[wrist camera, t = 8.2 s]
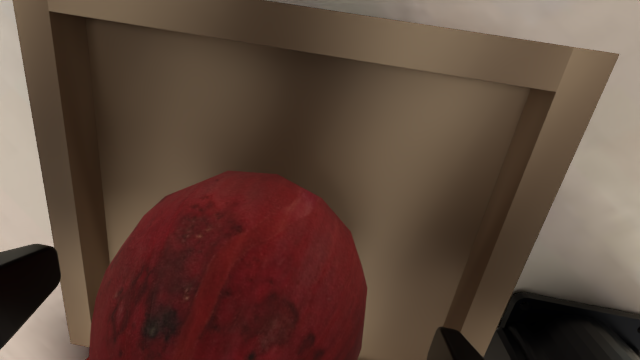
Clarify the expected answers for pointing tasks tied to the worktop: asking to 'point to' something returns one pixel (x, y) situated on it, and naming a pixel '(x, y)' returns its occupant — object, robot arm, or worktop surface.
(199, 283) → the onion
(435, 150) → the shelf
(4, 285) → the robot arm
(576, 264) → the worktop surface
